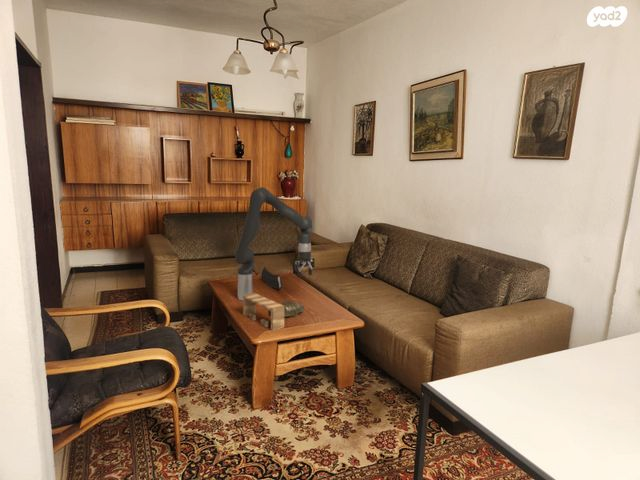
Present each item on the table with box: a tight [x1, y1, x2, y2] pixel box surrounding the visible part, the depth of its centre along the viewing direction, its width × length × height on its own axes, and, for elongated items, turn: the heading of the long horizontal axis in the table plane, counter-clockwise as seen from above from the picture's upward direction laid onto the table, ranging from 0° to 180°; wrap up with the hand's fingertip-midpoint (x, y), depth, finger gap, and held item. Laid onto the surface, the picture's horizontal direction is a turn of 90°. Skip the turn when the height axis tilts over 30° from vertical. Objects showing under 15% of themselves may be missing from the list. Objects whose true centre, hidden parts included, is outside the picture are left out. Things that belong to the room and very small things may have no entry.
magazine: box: [261, 267, 283, 291], centre depth 295 cm, size 17×3×30 cm
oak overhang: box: [242, 292, 285, 332], centre depth 229 cm, size 29×8×12 cm, turn 43°
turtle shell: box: [269, 300, 305, 318], centre depth 241 cm, size 16×9×20 cm
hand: (304, 276), depth 247 cm, fingers open, 8 cm apart
